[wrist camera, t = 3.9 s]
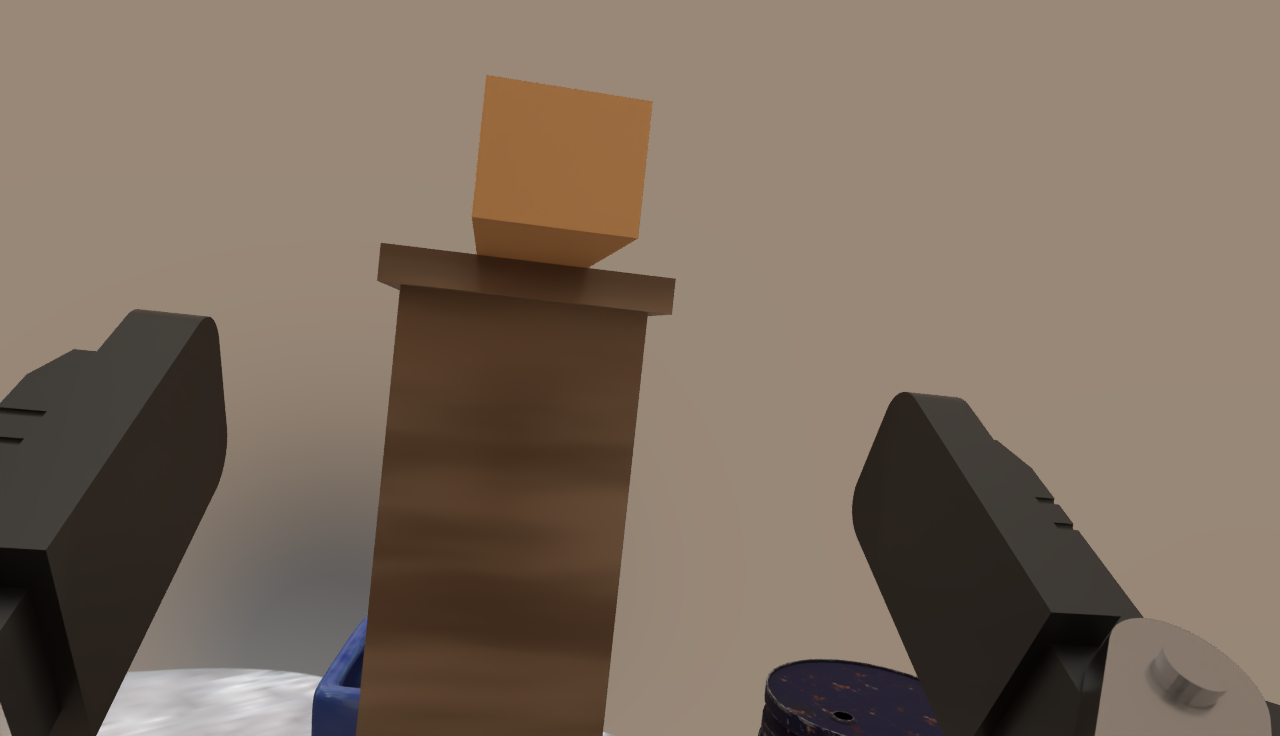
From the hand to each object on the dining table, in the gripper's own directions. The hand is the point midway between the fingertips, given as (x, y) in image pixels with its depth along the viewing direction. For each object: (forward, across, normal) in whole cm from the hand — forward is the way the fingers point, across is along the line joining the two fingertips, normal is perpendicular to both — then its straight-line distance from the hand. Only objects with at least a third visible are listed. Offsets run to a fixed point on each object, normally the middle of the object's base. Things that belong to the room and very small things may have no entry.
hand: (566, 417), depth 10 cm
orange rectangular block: (+15, 0, +6) cm, 17 cm away
